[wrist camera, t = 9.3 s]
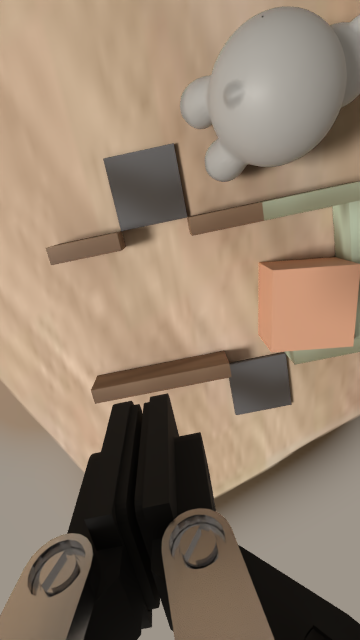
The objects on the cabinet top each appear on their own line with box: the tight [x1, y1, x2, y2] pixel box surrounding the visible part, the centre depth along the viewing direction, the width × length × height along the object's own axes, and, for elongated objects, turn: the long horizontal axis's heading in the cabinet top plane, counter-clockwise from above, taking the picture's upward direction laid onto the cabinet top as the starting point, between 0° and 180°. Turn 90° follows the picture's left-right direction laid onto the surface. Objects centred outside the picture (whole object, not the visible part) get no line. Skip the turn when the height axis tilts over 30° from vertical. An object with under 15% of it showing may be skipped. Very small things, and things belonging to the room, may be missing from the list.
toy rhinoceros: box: [180, 7, 360, 182], centre depth 20 cm, size 7×12×8 cm, turn 113°
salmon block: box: [258, 257, 360, 352], centre depth 26 cm, size 6×6×4 cm
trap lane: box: [46, 143, 360, 415], centre depth 26 cm, size 22×22×2 cm
